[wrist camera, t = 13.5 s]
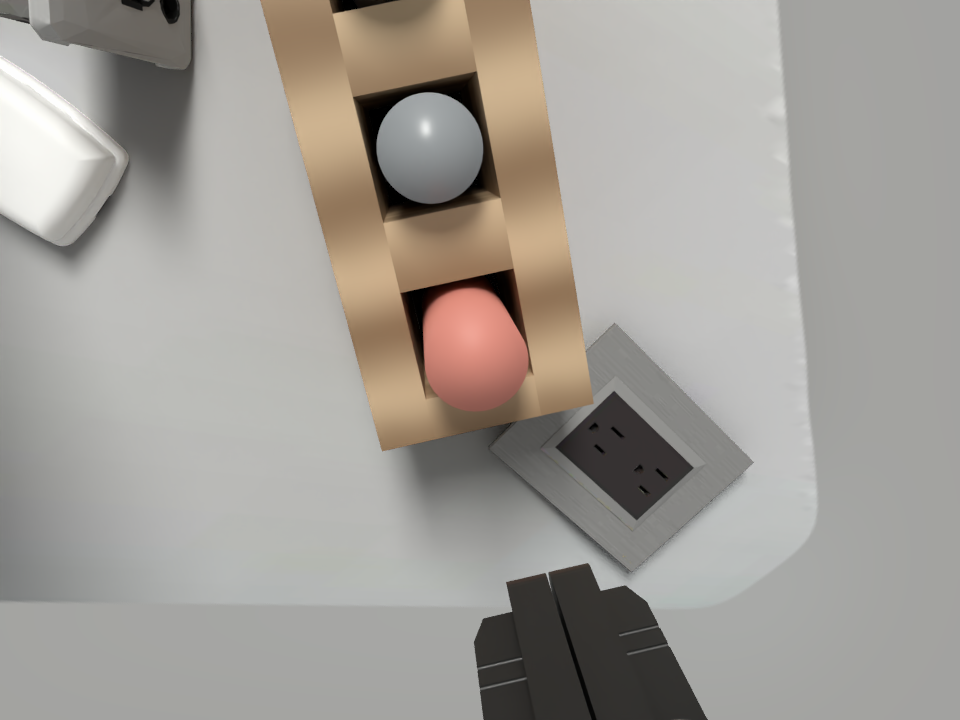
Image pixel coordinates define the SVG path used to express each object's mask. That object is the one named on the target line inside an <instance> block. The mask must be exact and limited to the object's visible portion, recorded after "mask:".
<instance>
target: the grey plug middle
mask: <svg viewBox="0 0 960 720" xmlns="http://www.w3.org/2000/svg"><path fill="white" fill-rule="evenodd" d="M377 157H378V162H379V165H380V168H381V170H382V172H383V174H384V176H385V178H386V179H387V181H388V182H389V183H390V185H391V186H392V187H393V188H394V189H395V190H396V191H398V192H399V193H400V194H401V195H403V196H405V197H407V198H408V199H411V200H413V201H416V202H420V203H427V204H435V203H442V202H445V201H449V200H451V199H453V198H455V197H457V196H459V195H460V194H461V193H463V192H464V191H465V190H466V189H467V188H468V187H469V186H470V185H471V184H472V182H473V181H474V179H475V178H476V176H477V174H478V172H479V169H480V166H481V163H482V157H483V141H482V136H481V132H480V129H479V127H478V124H477V122H476V121H475V119H474V117H473V116H472V114H471V113H470V112H469V111H468V110H467V109H466V108H465V107H464V106H463V105H462V104H461V103H459V102H458V101H456V100H455V99H453V98H451V97H449V96H446V95H443V94H439V93H418V94H415V95H411V96H409V97H407V98H405V99H403V100H401V101H400V102H398V103H397V104H396V105H395V106H394V107H393V108H392V109H391V110H390V111H389V112H388V113H387V115H386V116H385V118H384V120H383V122H382V124H381V126H380V129H379V132H378V137H377Z"/></svg>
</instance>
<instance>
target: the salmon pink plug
mask: <svg viewBox="0 0 960 720" xmlns="http://www.w3.org/2000/svg"><path fill="white" fill-rule="evenodd" d="M422 322H423V340H424V358H425V371H426V376H427V379H428V381H429V384H430V386H431V387H432V389H433V390H434V392H435V393H436V394H437V395H438V397H440V398H441V399H442V400H443V401H444V402H446V403H447V404H449V405H451V406H453V407H455V408H458V409H460V410H465V411H473V412H476V411H486V410H490V409H493V408H496V407H498V406H500V405H502V404H504V403H505V402H507V401H508V400H509V399H511V398H512V397H513V396H514V395H515V394H516V393H517V391H518V390H519V389H520V387H521V385H522V384H523V382H524V380H525V377H526V374H527V370H528V351H527V347H526V344H525V342H524V339H523V338H522V336H521V334H520V332H519V331H518V329H517V327H516V326H515V324H514V322H513V320H512V319H511V317H510V315H509V313H508V312H507V310H506V308H505V306H504V305H503V303H502V301H501V300H500V298H499V296H498V294H497V293H496V291H495V289H494V287H493V286H492V284H491V283H490V282H489V280H488V279H487V278H486V277H485V276H483V275H481V276H476V277H472V278H467V279H462V280H458V281H453V282H449V283H444V284H439V285H435V286H430V287H426V289H425V292H424V294H423V298H422Z"/></svg>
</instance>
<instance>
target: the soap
mask: <svg viewBox="0 0 960 720" xmlns="http://www.w3.org/2000/svg"><path fill="white" fill-rule="evenodd" d="M27 85H28V86H27ZM128 162H129V156H128V154H127V152H126V151H125V149H124V148H122V147H121V146H120V145H119V144H118V143H117V142H116V141H115V140H114V139H113V138H111V137H110V136H109V135H108V134H107V133H106V132H105V131H103V130H102V129H101V128H100V127H99V126H98V125H96V124H95V123H94V122H93V121H92V120H91V119H89V118H88V117H87V116H86V115H84V114H83V113H82V112H81V111H79V110H78V109H77V108H76V107H74V106H73V105H72V104H71V103H69V102H68V101H67V100H65V99H64V98H63V97H61V96H60V95H59V94H57V93H56V92H54V91H53V90H52V89H50V88H49V87H48V86H46V85H45V84H43V83H42V82H40V81H39V80H38V79H36V78H35V77H33V76H32V75H30V74H29V73H27V72H26V71H24V70H23V69H21V68H20V67H18V66H17V65H15V64H14V63H12V62H10V61H9V60H7V59H6V58H4V57H2V56H1V55H0V214H2V215H4V216H5V217H7V218H8V219H10V220H12V221H13V222H15V223H17V224H18V225H20V226H22V227H23V228H25V229H27V230H29V231H30V232H32V233H34V234H36V235H38V236H39V237H41V238H43V239H45V240H47V241H50V242H52V243H54V244H55V245H58V246H67V245H70V244H72V243H74V242H75V241H76V240H77V239H78V238H79V237H80V236H81V235H82V234H83V232H84V231H85V230H86V229H87V228H88V227H89V226H90V224H91V223H92V222H93V221H94V220H95V218H96V217H97V216H96V214H97V213H98V211H99V210H100V209H101V207H102V206H103V204H104V203H105V201H106V200H107V198H108V197H109V196H111V195H112V194H113V192H114V190H115V189H116V187H117V185H118V183H119V181H120V179H121V177H122V175H123V173H124V171H125V169H126V167H127V165H128Z"/></svg>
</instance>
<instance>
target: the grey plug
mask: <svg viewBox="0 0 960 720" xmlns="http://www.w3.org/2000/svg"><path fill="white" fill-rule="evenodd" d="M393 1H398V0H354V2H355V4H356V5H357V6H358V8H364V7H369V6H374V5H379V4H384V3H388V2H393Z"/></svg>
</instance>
